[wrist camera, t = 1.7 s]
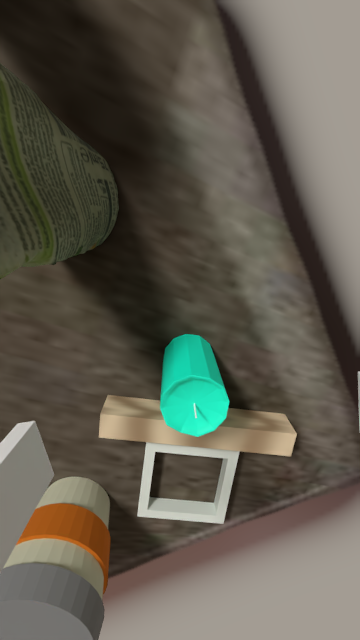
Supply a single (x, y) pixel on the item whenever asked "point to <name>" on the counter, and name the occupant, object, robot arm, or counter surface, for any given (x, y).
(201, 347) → the candle
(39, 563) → the reusable coffee cup
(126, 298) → the counter surface
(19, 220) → the pouch
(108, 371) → the counter surface
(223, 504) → the frame
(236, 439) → the edge strip
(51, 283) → the counter surface
